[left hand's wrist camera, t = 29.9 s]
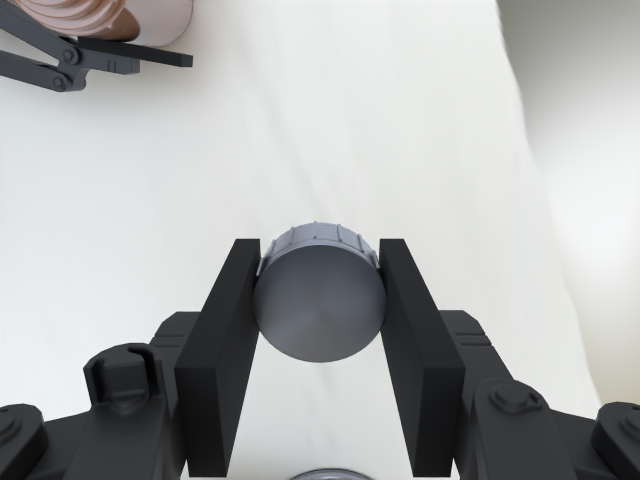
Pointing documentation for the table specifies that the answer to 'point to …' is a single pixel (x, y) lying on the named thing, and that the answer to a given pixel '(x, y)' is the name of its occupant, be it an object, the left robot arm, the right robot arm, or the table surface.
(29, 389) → the table surface
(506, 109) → the table surface
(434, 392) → the left robot arm
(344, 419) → the table surface
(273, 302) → the cap
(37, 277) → the table surface
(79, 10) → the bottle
